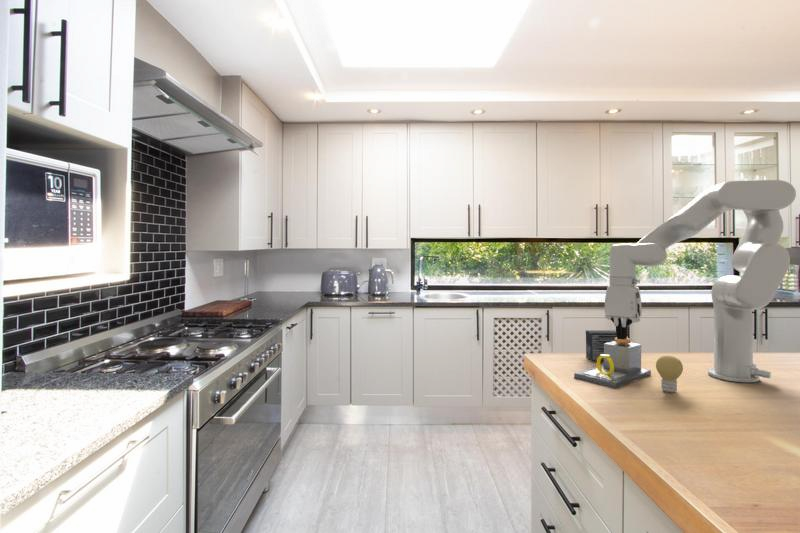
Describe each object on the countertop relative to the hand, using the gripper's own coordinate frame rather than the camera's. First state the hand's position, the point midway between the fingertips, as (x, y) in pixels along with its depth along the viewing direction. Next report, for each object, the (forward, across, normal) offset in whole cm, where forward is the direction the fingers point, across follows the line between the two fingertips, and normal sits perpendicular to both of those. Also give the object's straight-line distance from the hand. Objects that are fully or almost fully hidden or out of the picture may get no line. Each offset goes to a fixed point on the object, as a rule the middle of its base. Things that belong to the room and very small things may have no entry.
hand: (621, 338), depth 137 cm
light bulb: (+11, -17, +8) cm, 22 cm away
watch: (+10, 0, +11) cm, 15 cm away
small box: (+12, +13, -12) cm, 21 cm away
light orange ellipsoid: (+8, 0, 0) cm, 8 cm away
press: (+11, 0, +6) cm, 13 cm away
